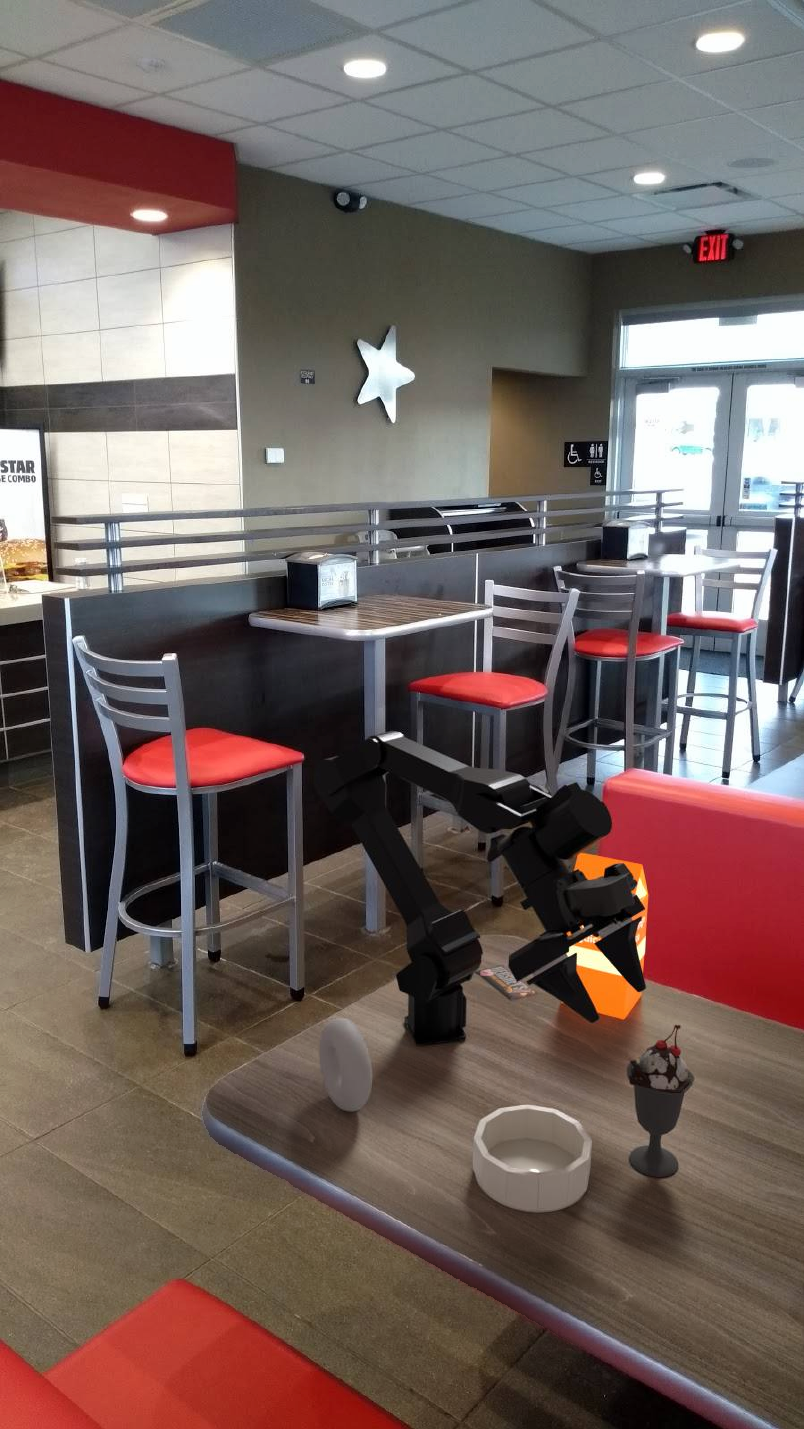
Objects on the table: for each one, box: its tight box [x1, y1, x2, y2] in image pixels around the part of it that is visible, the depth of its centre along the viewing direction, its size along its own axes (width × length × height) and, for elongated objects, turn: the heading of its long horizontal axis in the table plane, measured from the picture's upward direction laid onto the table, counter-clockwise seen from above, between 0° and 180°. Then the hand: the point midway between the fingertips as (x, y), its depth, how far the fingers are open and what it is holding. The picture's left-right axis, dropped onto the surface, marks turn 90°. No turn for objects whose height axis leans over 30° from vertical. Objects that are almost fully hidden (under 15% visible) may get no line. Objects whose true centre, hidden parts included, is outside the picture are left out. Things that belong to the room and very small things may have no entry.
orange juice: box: [560, 852, 649, 1020], centre depth 141 cm, size 8×9×20 cm
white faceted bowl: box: [472, 1104, 593, 1214], centre depth 108 cm, size 11×11×4 cm
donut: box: [318, 1017, 373, 1112], centre depth 118 cm, size 10×4×10 cm, turn 25°
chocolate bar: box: [474, 964, 538, 1002], centre depth 148 cm, size 11×5×1 cm, turn 27°
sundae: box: [626, 1024, 695, 1178], centre depth 109 cm, size 7×7×15 cm
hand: (619, 1005), depth 115 cm, fingers open, 9 cm apart
